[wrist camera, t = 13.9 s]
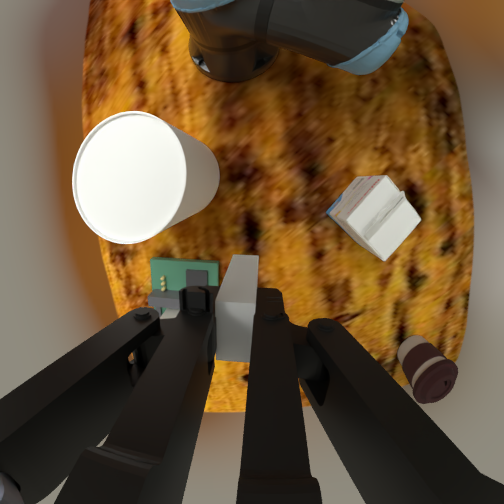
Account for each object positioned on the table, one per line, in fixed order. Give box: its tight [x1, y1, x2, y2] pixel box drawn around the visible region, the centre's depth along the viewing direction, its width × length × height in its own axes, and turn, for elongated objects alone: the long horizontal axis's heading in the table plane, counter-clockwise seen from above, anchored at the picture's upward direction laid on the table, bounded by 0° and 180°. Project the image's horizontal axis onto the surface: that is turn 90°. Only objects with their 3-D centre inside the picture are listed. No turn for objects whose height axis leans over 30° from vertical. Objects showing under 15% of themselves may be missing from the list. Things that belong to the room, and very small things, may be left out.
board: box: [148, 257, 219, 317], centre depth 47 cm, size 16×12×5 cm
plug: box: [160, 308, 180, 319], centre depth 45 cm, size 4×4×8 cm
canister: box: [72, 111, 220, 244], centre depth 34 cm, size 14×14×20 cm
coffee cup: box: [397, 335, 458, 404], centre depth 43 cm, size 10×10×15 cm
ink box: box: [326, 175, 421, 261], centre depth 38 cm, size 9×8×13 cm
